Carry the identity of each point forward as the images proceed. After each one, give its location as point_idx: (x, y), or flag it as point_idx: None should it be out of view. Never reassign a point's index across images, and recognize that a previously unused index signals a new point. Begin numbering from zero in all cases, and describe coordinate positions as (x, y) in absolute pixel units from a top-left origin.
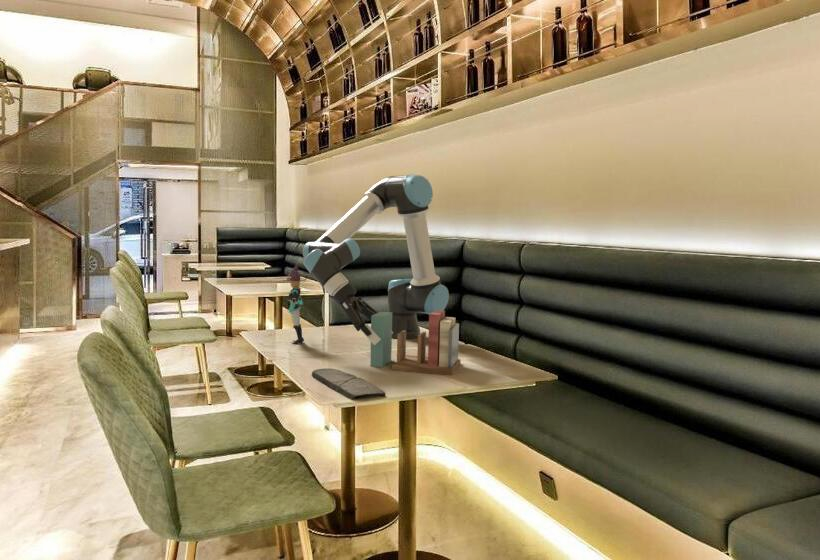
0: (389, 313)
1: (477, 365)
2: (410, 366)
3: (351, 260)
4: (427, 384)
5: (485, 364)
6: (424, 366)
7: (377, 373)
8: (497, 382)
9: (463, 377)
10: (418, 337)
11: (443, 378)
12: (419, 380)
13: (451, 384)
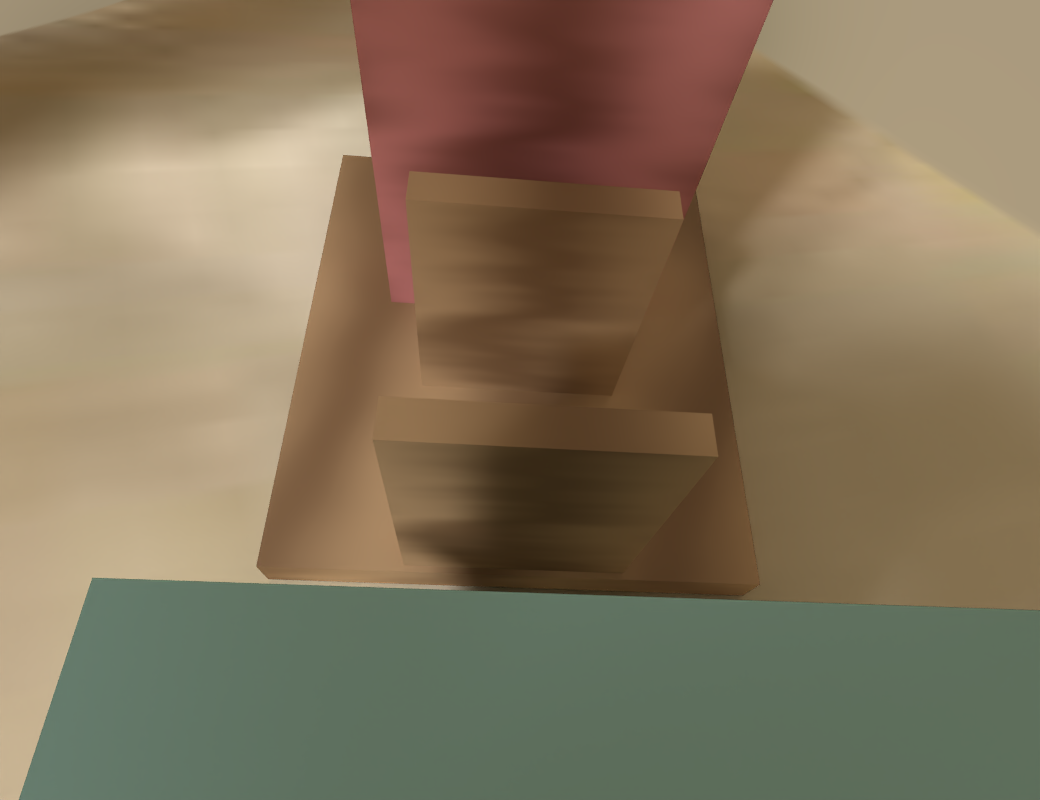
0: (381, 606)
1: None
2: (727, 428)
3: None
4: (978, 297)
5: (330, 72)
6: (678, 335)
7: None
8: None
9: (711, 154)
10: (675, 233)
11: (791, 236)
12: (921, 349)
13: (894, 194)
